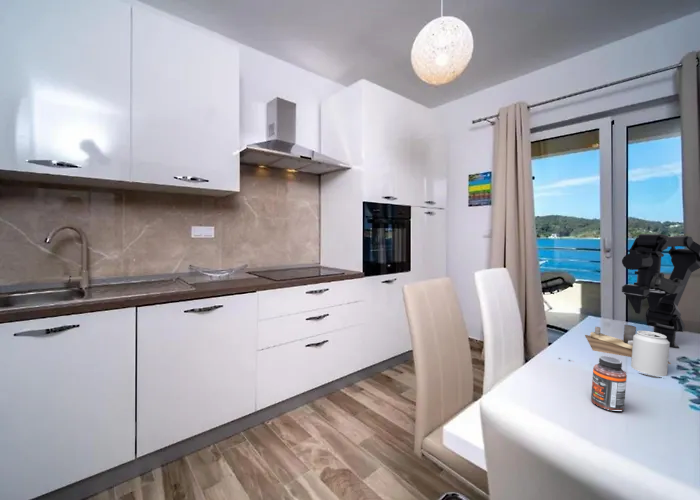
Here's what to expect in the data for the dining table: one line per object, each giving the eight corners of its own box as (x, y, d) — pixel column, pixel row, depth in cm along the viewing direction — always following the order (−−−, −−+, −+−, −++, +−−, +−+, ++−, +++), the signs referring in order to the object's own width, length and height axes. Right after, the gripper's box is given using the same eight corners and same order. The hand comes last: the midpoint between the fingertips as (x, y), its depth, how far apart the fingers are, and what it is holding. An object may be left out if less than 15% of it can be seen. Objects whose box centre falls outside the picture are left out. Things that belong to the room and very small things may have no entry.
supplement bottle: (584, 399, 73) (587, 354, 73) (606, 398, 74) (609, 353, 73) (607, 414, 67) (610, 364, 67) (631, 413, 68) (635, 364, 67)
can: (674, 381, 83) (678, 338, 83) (642, 378, 85) (646, 336, 84) (653, 369, 91) (656, 330, 90) (624, 366, 92) (627, 328, 92)
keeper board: (584, 337, 119) (585, 325, 118) (651, 347, 109) (652, 334, 108) (592, 353, 102) (593, 339, 102) (672, 367, 92) (673, 352, 92)
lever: (588, 336, 116) (589, 317, 115) (595, 335, 117) (596, 316, 117) (644, 353, 99) (646, 331, 99) (652, 352, 101) (653, 330, 100)
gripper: (664, 273, 96) (660, 321, 97) (695, 271, 102) (691, 316, 103) (622, 268, 106) (619, 312, 107) (652, 267, 113) (649, 308, 114)
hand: (645, 312), depth 108 cm, fingers open, 9 cm apart
